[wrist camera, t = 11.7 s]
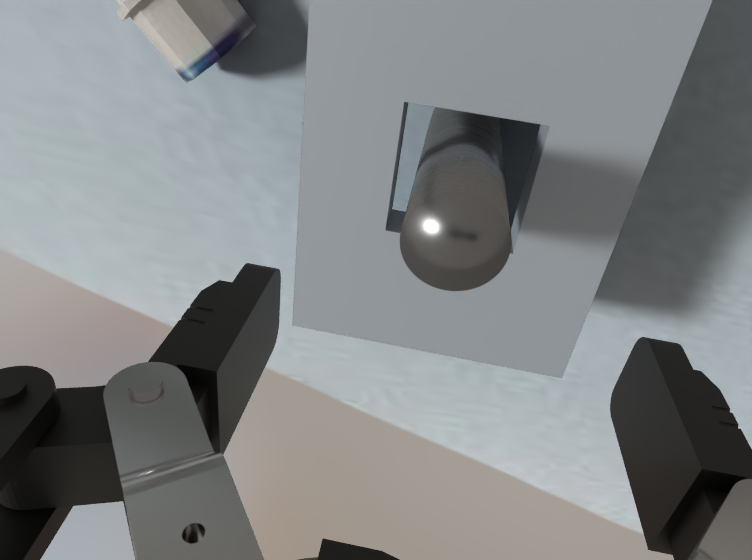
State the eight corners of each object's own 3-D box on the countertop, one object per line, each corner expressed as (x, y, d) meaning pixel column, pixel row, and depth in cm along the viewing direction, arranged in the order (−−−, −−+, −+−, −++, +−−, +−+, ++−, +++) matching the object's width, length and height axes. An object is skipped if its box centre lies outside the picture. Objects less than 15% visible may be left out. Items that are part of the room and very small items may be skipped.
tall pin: (424, 152, 27) (392, 280, 17) (436, 85, 26) (408, 183, 16) (490, 163, 27) (496, 300, 17) (506, 96, 26) (524, 203, 15)
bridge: (327, 251, 31) (292, 325, 25) (358, -95, 23) (314, -106, 17) (545, 291, 30) (561, 378, 24) (662, -52, 22) (730, -46, 16)
